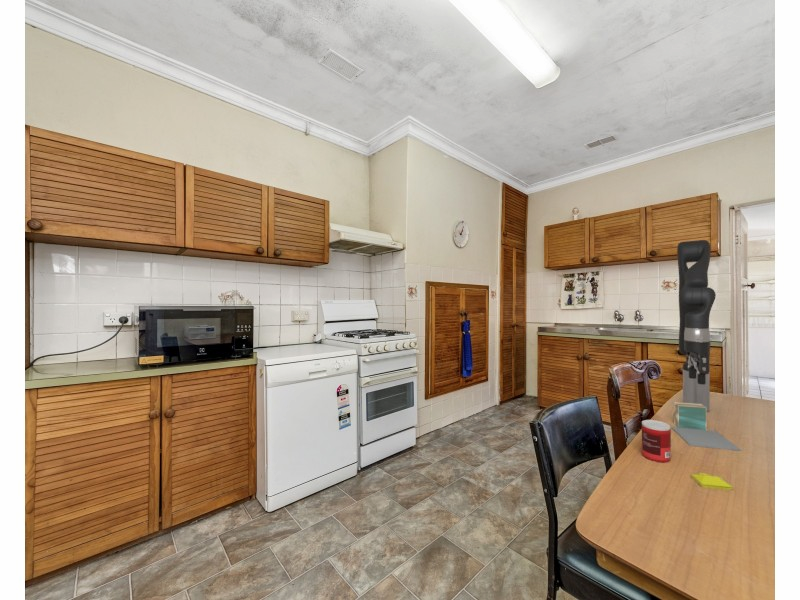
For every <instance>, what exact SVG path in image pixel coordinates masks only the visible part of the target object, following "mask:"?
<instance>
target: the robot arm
mask: <svg viewBox="0 0 800 600" xmlns="http://www.w3.org/2000/svg"><path fill="white" fill-rule="evenodd" d="M676 247H677V249H676V253H677V254H676V255H677V267H678V309H679V310H678V312H679V326H678V327H679V331H678V332H679V333H678V351H679V353H680V354H681V355H685V362H684V363H682V403H693V404H702V405H703V406H705V407H706V412H710V397H711V395H710V389H711V388H710V386H711V385H710V382H711V381H710V374H711V373H710V372H711V371H710V370H711V369H710V356H711V355H710V354H711V332H710V315H711V310H712V308H713V305H714V303H715V299H716V297H717V294H716V291H715V290H714V289H713V288H711V287H708V286H709V276H708V271H709V267H710V261H711V245H710V242H709V241H708V240H706V239H700V240H699V239H698V240H689V241H688V240H687V241H680V242H679V243H678V244H677V246H676ZM687 263H693V264H692V265H691V266H690V267H688V264H687Z"/></svg>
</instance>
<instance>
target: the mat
mask: <svg viewBox="0 0 800 600" xmlns="http://www.w3.org/2000/svg"><path fill="white" fill-rule="evenodd" d="M670 428H671V430H672V431H674V432H675V433H676V434H677V435H678V436H679V437H680V438H681V439H682V440H683V441H685V442H686V443H687V445H689V446H690V447H700V448H701V447H702V448H709V449H719V450H720V449H721V450H729V451H742V449H741V448H740V447H738V445H735V443H733V442H731V440H729V439H728V438H726V437H725V436H724V435H722V434H721V433H719V432H718V431H716V430H712V429H711V430H709V429H706V430H701V429H689V428H678V427H676V426H670Z"/></svg>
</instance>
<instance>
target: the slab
mask: <svg viewBox="0 0 800 600" xmlns="http://www.w3.org/2000/svg"><path fill="white" fill-rule="evenodd" d="M673 425H674V427H678V428H689V429H701V430H707V411H706V407H705V406H703V405H702V404H693V403H683V402H676V401H674V402H673Z"/></svg>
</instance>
